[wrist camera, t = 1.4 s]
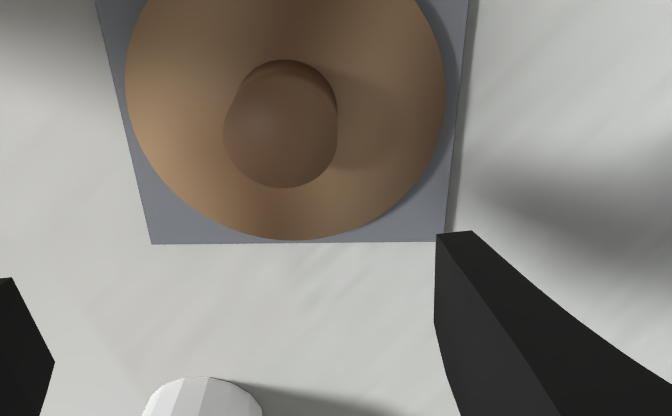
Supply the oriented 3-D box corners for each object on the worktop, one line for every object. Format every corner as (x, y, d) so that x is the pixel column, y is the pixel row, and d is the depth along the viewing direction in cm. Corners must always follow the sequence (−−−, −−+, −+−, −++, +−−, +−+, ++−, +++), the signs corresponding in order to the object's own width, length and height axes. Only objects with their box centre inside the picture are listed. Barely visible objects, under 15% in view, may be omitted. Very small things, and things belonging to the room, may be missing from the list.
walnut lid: (457, -75, 15) (480, -66, 12) (431, 229, 20) (444, 276, 18) (95, -66, 15) (50, -56, 12) (163, 233, 20) (140, 281, 18)
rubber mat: (475, -95, 15) (478, -94, 15) (441, 235, 21) (442, 241, 20) (80, -88, 15) (74, -88, 15) (154, 238, 21) (151, 244, 20)
